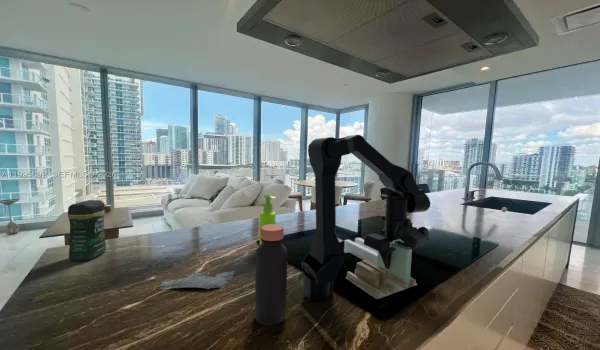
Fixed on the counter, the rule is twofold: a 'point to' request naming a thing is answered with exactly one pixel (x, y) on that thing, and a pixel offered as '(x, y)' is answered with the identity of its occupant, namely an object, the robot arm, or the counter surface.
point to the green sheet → (398, 262)
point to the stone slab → (198, 281)
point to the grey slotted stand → (361, 250)
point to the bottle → (271, 276)
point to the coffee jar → (86, 230)
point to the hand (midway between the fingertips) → (392, 267)
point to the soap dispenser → (267, 213)
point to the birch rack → (392, 285)
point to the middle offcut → (383, 273)
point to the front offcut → (368, 274)
